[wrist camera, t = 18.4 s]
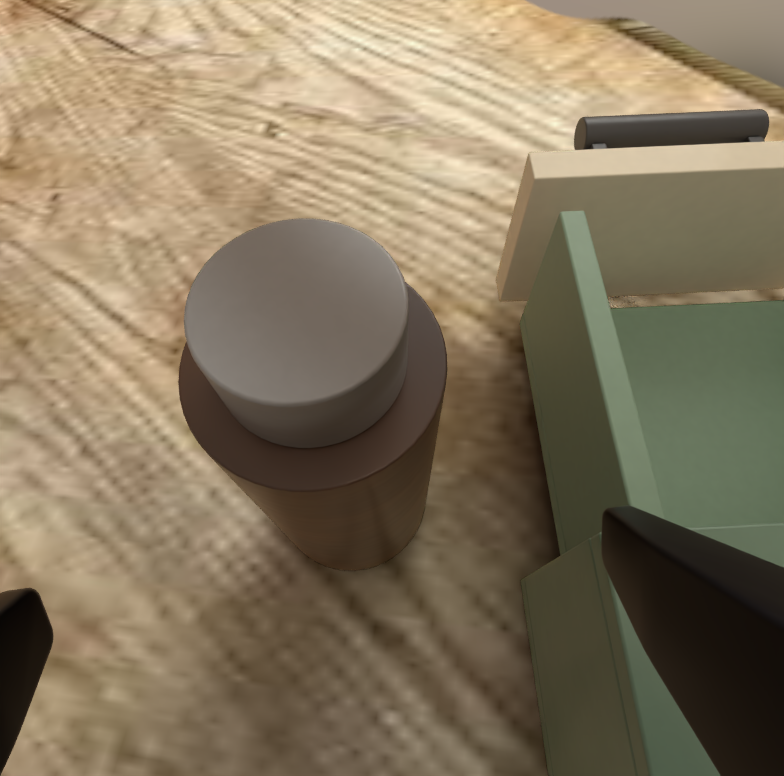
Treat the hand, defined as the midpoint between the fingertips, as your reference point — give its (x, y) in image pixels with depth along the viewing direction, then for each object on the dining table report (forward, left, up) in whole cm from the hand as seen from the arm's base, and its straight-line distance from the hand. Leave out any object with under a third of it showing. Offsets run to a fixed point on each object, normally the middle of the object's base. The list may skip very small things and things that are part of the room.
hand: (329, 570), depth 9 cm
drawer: (+15, -3, -10) cm, 18 cm away
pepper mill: (+3, +3, -11) cm, 12 cm away
